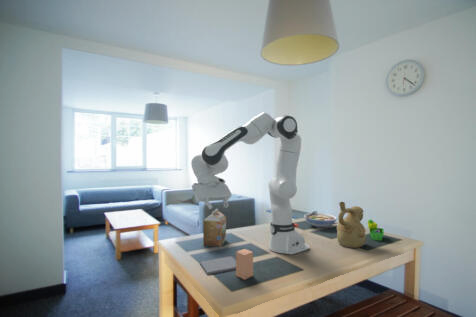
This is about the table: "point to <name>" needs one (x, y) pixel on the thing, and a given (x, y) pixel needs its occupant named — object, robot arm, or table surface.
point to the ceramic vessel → (350, 227)
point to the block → (244, 264)
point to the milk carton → (214, 229)
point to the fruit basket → (375, 230)
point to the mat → (218, 265)
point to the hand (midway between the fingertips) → (219, 207)
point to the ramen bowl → (320, 219)
